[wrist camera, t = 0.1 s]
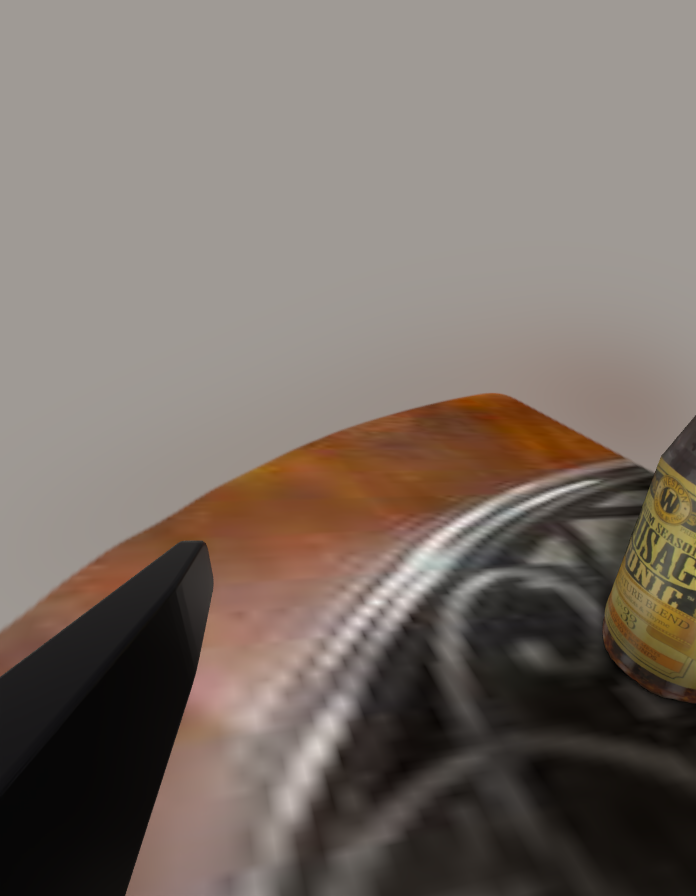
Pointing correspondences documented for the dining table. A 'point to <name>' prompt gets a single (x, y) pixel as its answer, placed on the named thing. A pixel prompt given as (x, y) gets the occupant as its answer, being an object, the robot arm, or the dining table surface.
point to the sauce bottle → (660, 582)
